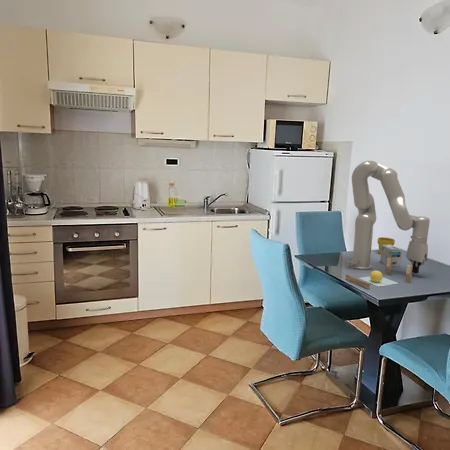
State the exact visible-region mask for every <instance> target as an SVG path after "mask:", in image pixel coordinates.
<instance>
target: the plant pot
mask: <svg viewBox="0 0 450 450" xmlns="http://www.w3.org/2000/svg"><path fill="white" fill-rule="evenodd" d="M395 242H396V240H395V239H394V238H392V237H385V236H383V237H381V236H380V237H378V238H377V244H378V252H379V254H380V255H381V249H382V245H392V246H395V244H396V243H395Z"/></svg>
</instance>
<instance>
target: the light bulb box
mask: <svg viewBox="0 0 450 450" xmlns="http://www.w3.org/2000/svg"><path fill="white" fill-rule="evenodd" d="M402 252H403V249H402V248H400V247H398V246H395V245H393V246H392V245H382V249H381V254H380V259H379V260H380V261H379V262H380V263H382V264H383V265H385V266H386V264H387V258H392V266H391V268H393V267H394V268H395V267H398V268H399V267H401V261H402Z"/></svg>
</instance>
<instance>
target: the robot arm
mask: <svg viewBox="0 0 450 450" xmlns="http://www.w3.org/2000/svg"><path fill="white" fill-rule="evenodd" d="M369 177H371V178H373V179H375V180H377V181H379V182H380V184H381V186H382V189H383V191H384V193H385V196H386V198H387V201H388V205H389V207H390V210H391V214H392V216H393V218H394V221H395V223H396V226H397V227H398V229H399V230H401V231H405V232H406V231H409V230H411V229H412V233H411V235H410V239H411V240H410V241H409V243H408V246H407V248H406V249H407V250H406V255H405V256H406V258H407V260H408V261H410V263H411V265H413V267H412V274H419V271H420V267H421V266H422V265H423V266H424V265H426V264H427V261H428V255H429V245H428V238H429V237H428V236H429V230H430V229H429V228H430V221H431V219H430V218H429V217H426V216H421V215H420V216H416V215H412V214H410V213H409V210H408V208H407V205H406V198H405V193H404V191H403V189H402V186H401V184H400V181H399V178H398V173H397V171H396V170H395V169H393V168H390V167H388V166H385V165H383V164H381V163H379V162H376V161H374V160H366V161H362V162H361V163H359V164H358V165H357V166H355V168H354V170H353V171H352V174H351V185H352V195H353V203H354V207H356V209H357V211H358V215H357V216H356V217H355V220H354V222H355V223H354V239H353V251H352V258H351V259H350V260H346V261H345V264H346V265H348V266H349V267H350V268H353V269H356V270H363V271H364V270H367V271H368V270H371V269H372V268H373V265H372V264H370V263H371V253H372V246H373V245H372V244H373V233H374V232H373V231H374V225H375V223H376V221H377V211H376V205H375V198H374V196H373V195H372V194H371V193H370V188H369V183H368V178H369Z"/></svg>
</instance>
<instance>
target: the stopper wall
mask: <svg viewBox="0 0 450 450" xmlns="http://www.w3.org/2000/svg"><path fill="white" fill-rule="evenodd" d="M346 279H347V280H346ZM345 280H346V281H348V280H349V281H348V282H350V281H352V282H351V283H353V284H355V283H356V284H355V285H357V284H358V285H357V286H359V285H360V287H361V288H362V287H363V288H365V289H366V288H367V290H370V289H371V284H370V283H368V282H365V281H363V280H361V279H358V277H354V276H352V275H349V274H345Z"/></svg>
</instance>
